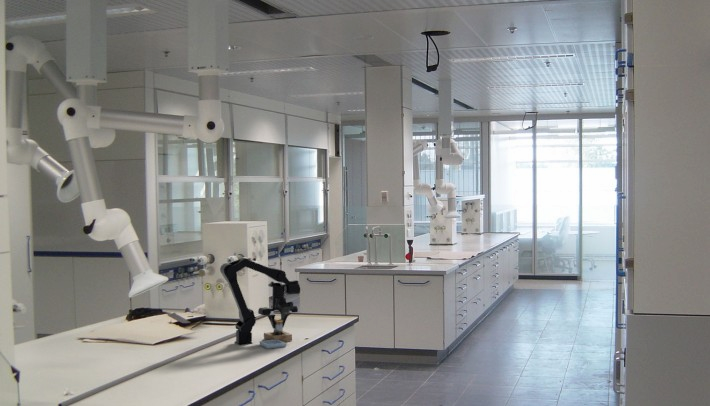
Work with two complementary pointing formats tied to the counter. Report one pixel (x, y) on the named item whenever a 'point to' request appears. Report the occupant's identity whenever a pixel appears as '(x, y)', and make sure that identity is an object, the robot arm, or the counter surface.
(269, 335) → the brown square frame
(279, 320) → the pin
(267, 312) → the robot arm
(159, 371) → the counter surface
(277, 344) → the tray
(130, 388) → the counter surface
